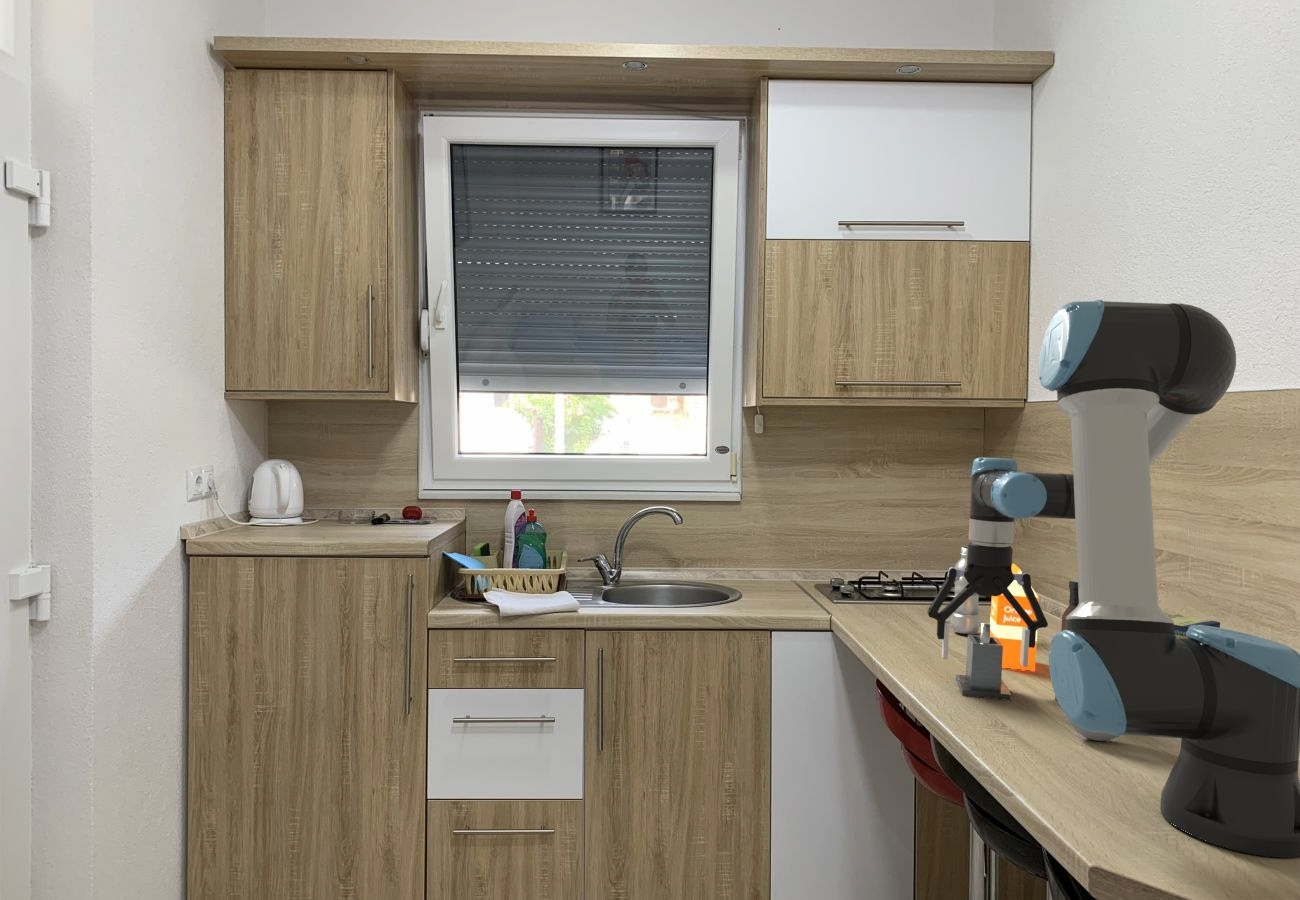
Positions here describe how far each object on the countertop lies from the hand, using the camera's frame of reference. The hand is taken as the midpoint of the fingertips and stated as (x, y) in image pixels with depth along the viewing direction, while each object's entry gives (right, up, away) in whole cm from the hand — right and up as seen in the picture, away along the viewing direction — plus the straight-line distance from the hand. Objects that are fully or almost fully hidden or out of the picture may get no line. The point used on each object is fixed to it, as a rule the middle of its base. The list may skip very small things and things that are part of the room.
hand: (983, 661), depth 158 cm
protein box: (+29, -7, -3) cm, 30 cm away
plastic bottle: (+13, -5, +45) cm, 47 cm away
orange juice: (+13, -5, +20) cm, 24 cm away
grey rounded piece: (+8, -6, -24) cm, 26 cm away
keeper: (0, -5, 0) cm, 5 cm away
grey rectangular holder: (0, -4, 0) cm, 4 cm away
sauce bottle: (+19, -6, +4) cm, 20 cm away
